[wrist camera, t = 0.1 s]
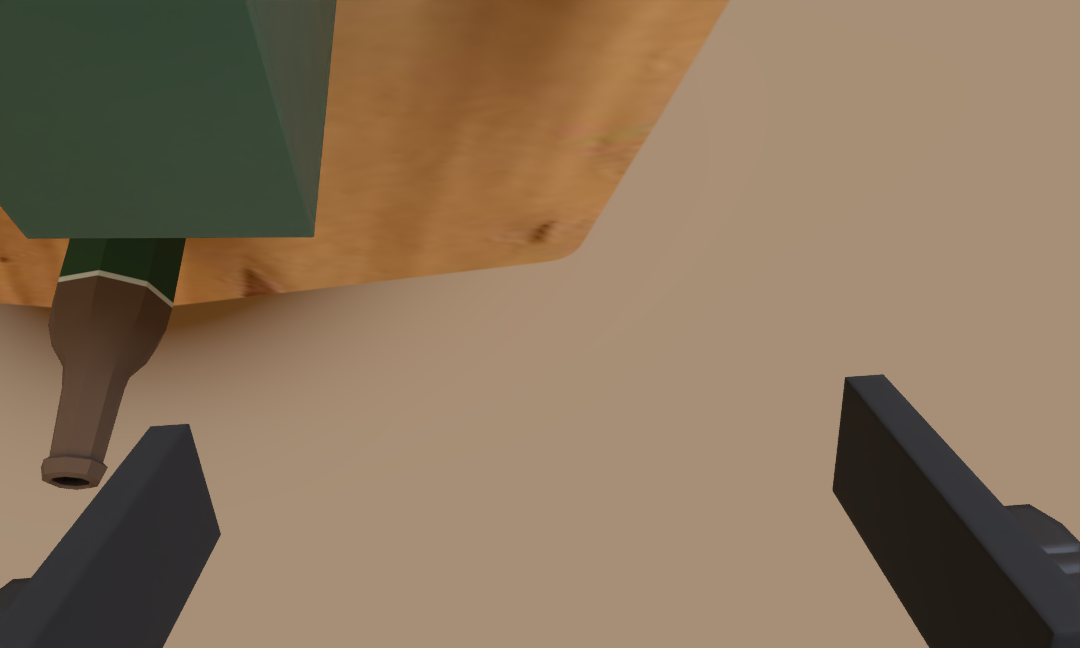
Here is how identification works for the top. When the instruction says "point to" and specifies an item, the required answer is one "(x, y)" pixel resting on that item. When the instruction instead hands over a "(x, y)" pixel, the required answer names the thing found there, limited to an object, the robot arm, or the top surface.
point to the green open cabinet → (163, 116)
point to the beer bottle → (104, 342)
